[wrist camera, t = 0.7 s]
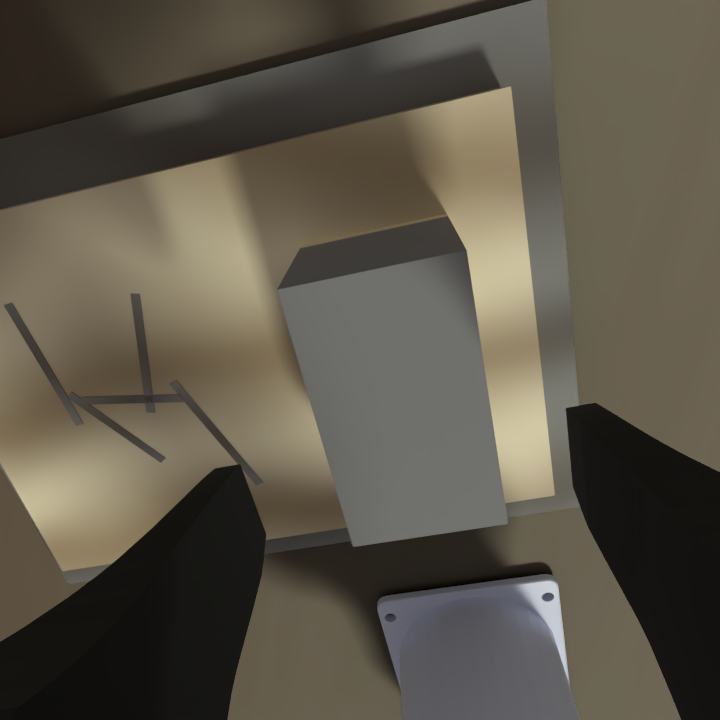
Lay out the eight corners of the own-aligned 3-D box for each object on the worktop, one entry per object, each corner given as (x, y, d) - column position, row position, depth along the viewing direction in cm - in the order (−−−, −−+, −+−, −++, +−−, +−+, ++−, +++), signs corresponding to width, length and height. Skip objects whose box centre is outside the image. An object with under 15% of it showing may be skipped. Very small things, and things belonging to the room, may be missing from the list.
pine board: (583, 499, 24) (599, 531, 22) (72, 577, 26) (50, 611, 25) (542, -2, 16) (561, -13, 15) (-154, 180, 19) (-207, 188, 17)
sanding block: (483, 438, 20) (508, 523, 16) (359, 458, 21) (353, 546, 17) (446, 213, 17) (466, 250, 13) (301, 245, 18) (277, 289, 14)
